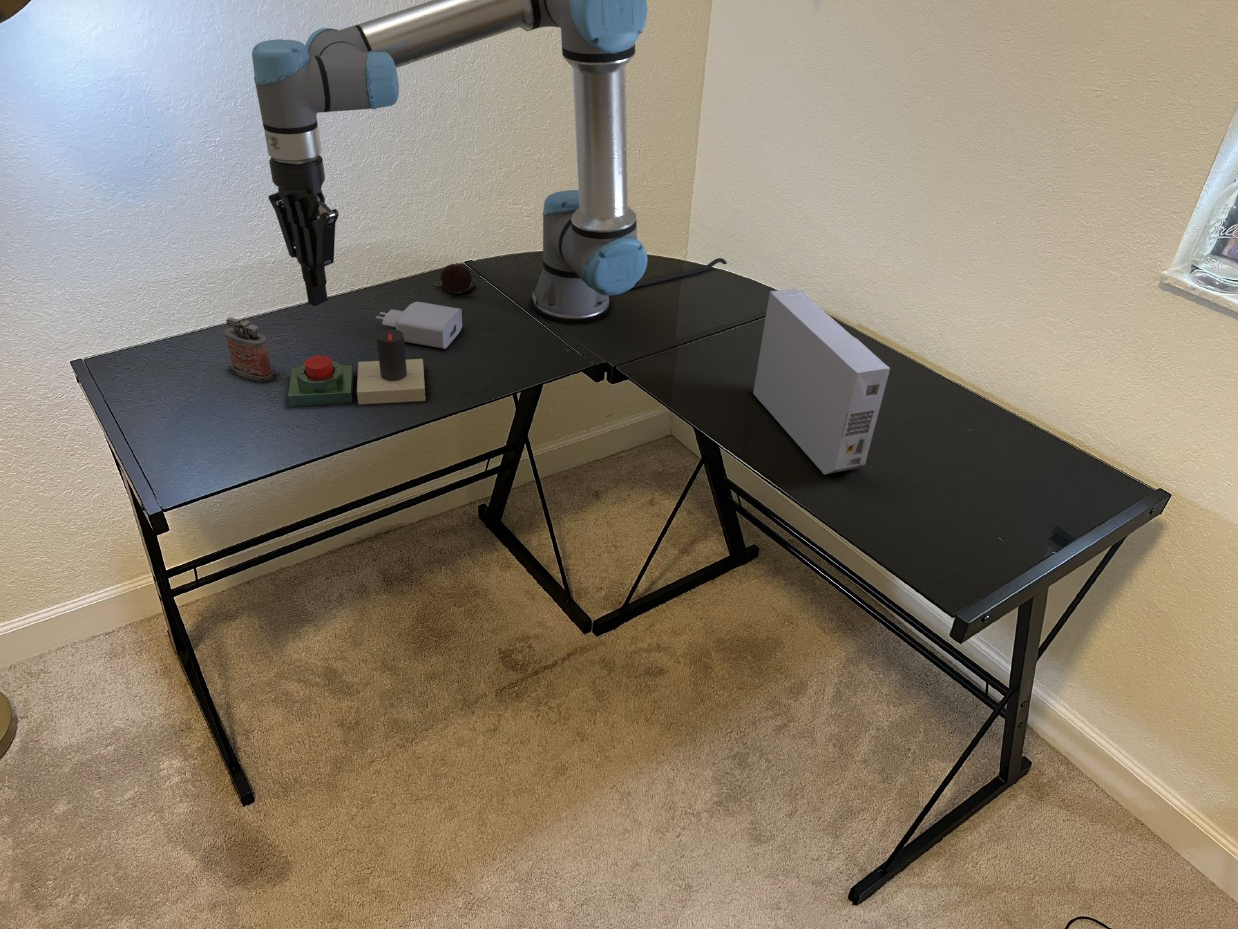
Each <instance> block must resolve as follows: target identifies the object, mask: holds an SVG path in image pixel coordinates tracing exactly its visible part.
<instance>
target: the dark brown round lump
mask: <svg viewBox="0 0 1238 929" xmlns="http://www.w3.org/2000/svg"><path fill="white" fill-rule="evenodd" d="M472 278H473V276H472V274H471V271H470V270H469V269H468V268H467V267H466V266H465V265H462V264H460V263H458V262H457V261H456V262H455V263H451V264H450V263H449V264H447V265H446V266H444V267H443V269H442V270H441V273H440V284H436V283H438V281H435V282H434V286H436V287H440V286H443V289H444V291H446V292H448V293H449V294H453V295H463V294H467V293H471V291H473V289H474V288H475V283H474V282H473V279H472Z"/></svg>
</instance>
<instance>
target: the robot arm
mask: <svg viewBox="0 0 1238 929" xmlns="http://www.w3.org/2000/svg"><path fill="white" fill-rule="evenodd" d="M647 19H648V3H647V0H429V1H426V2H423V3H419V4H416V5H414V6H411V7H408V8H405V9H402V10H399V11H395V12H392V13H389V14H386V15H383V16H380V17H377V18H373V19H370V20H367V21H365V22H361V23H359V24H355V25H351V26H348V27H344V28H341V29H336V28H332V27H331V28H330V27H322V28H318V29H317V30H315V31H314V32H312V33H311V34H310V35H309V36H308V38H307V40H306V42H305V43H304V42H301V41H299V40H294V39H282V38H281V39H279V38H278V39H268V40H263V41H260V42H258V43H256V44H255V45H254V47H253V48H252V50H251V58H252V66H253V67H252V68H253V75H254V76H253V81H254V84H255V90H256V95H257V101H258V106H259V111H260V115H261V116H260V117H261V121H262V127H263V132H264V138H265V143H266V149H267V154H268V156H269V157H270V159H269V160H268V163H269V168H270V175H271V180H272V183H273V185H275V186H276V187H277V192H274V193H271V194H269V195H268V197H267V198H268V201H269V203H270V204H271V206H272V208H273V210H274V213H275V215H276V219H277V221H278V225H279V227H280V231H281V233H282V237H283V240H284V243H285V246H286V249H287V252H288V255H289V256H290V257H291V258H292V259H294V258H295V259H296V260H297V262H298V264H299V265H300V268H301V274H302V280H303V282H304V285H305V290H306V298H307V303H308V305H310V306H313V307H317V306H319V305H321V304H323V303H326V302H328V301H329V298H328V293H327V287H326V286H327V274H326V268H325V267H328V266H330V265H332V264H334V262H335V244H336V243H335V242H336V241H335V240H336V223H337V221H338V218H339V216H340V213H339V210H338V209H336V208H333V209H331V208H330V207H329V206H328V205H327V204H326V198H325V195H324V193H323V190H322V186H323V184H324V182H325V181H326V174H325V166H324V160H323V157H322V156H321V154H322V152H323V151H322V150H323V149H322V143H321V137H320V130H319V124H318V115H317V114H319V113H332V112H334V113H335V112H347V111H361V110H377V109H381V108H387V107H392V106H394V105H396V104H397V103H398V100H399V96H400V95H399V94H400V91H399V90H400V85H399V76H398V71H397V68H400V67H403V66H406V65H410V64H413V63H416V62H419V61H421V60H424V59H425V60H426V59H429V58H431V57H433V56H437V55H440V54H443V53H445V52H449V51H452V50H455V49H458V48H460V47H464V46H466V45H471V44H473V43H477V42H479V41H482V40H486V39H489V38H491V37H494V36H497V35H500V34H503V33H506V32H509V31H512V30H515V29H518V28H520V29H522V30H523V31H525V32H531V31H534V30H537V29H540V28H545V27H546V28H550V27H551V28H560V36H561V54H562V58H563V59H564V60H565V62H567V63H568V64H569V65H570V66H571V68H572V82H573V83H572V86H573V106H574V125H575V126H574V127H575V128H574V129H575V149H576V168H577V169H576V170H577V188H578V189H567V190H560V191H556V192H553V193H550V194H549V195H547V196H546V198H545V199H544V201H543V209H542V214H541V215H542V270H541V273H540V275H539V277H538V282H537V284H536V287H535V289H534V290H532V295H531V298H532V300H533V308H534V309H535V311H536V312H537V313H538V314H540V315H542V316H543V317H545V318H547V319H550V320H553V321H557V322H562V323H563V322H564V323H585V322H590V321H594V320H596V319H599V318H601V317H603V316H604V315H606V313H608V311H609V309H610V297H611V296H618V295H621V294H624V293H626V292H628V291H629V290H631V289H632V288H633V289H634V288H639V287H645V286H649V285H653V284H658V283H662V282H665V281H671V280H675V279H679V278H682V277H687V276H691V275H696V274H699V273H703V272H705V271H708V270H709V269H711V268H712V267H714V266H715V265H717V264H718V263H719V264H722V265H728V262H727V261H726V259H724V258H722V257H718V258H715V259H713V260H712V261H710V262H709V263H708V264H706V265H704V266H702V267H698V268H694V269H691V270H686V271H682V272H677V273H673V274H669V275H665V276H661V277H657V278H652V279H648V280H642V281H640V280H641V279H642V277H643V276H644V274H645V272H646V269H647V266H648V253H647V250H646V248H645V247H644V244H643V243H642V241H640V240H639V239H638V233H637V232H638V230H637V228H638V224H637V223H638V220H637V213H636V212H635V211H634V209H632V207H630V206H629V203H628V202H629V200H628V197H629V196H628V193H629V192H628V131H627V130H628V129H627V128H628V127H627V126H628V124H627V65H628V64H629V62H630V61H631V60H632V59H633V58H634V57H635V56H636V43H637V42H638V40H639V36H640V35H641V34H643V32H644V29H645V27H646V23H647Z"/></svg>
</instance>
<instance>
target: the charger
mask: <svg viewBox="0 0 1238 929" xmlns="http://www.w3.org/2000/svg"><path fill="white" fill-rule="evenodd" d="M462 311H463V310H462V308H458V307H451V306H447V305H439V304H433V303H428V302H422V301H415V302H412V303H410V304H409V305H408V306H407V307H406V308H405V309H404V310H398V309H390V310H388V312H382V311H380V312H379V316H378V315H376V316H375V319H377V320H382V322H381V325H382V326H383V327H389V328H394V329H395V330H399V331H401V332H402V333H403V335H404V343H410V344H415V345H420V346H426V347H431V348H438V349H441V350H443V349H444V350H446V349H447V348H448V347H449V346H450V345H451V343H452V342H453V341H455V339H456V337H457V336H458V335H459V334H460V332H461V331H462V329H463V313H462ZM380 315H381V316H380Z"/></svg>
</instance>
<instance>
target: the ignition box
mask: <svg viewBox="0 0 1238 929" xmlns="http://www.w3.org/2000/svg"><path fill="white" fill-rule="evenodd" d="M332 364H333V374H332V375H331V376H328V377H325V378H315V379H314V378H310V377H308V376H307V375H306V370H305V363H303V364H301V365H300V366H299V367H292V368H291V372H290V380H289V385H288V391H287V399H288V406H289V407H290V408H291V407H308V406H327V405H328V406H329V405H343V404H344V405H345V404H353V395H354V380H355V377H354V376H355V375H354V366H353V364H347V365H346V364H345V365H344V364H343V365H341V364H340V363H339V362H337V361H334V360H332Z"/></svg>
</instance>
